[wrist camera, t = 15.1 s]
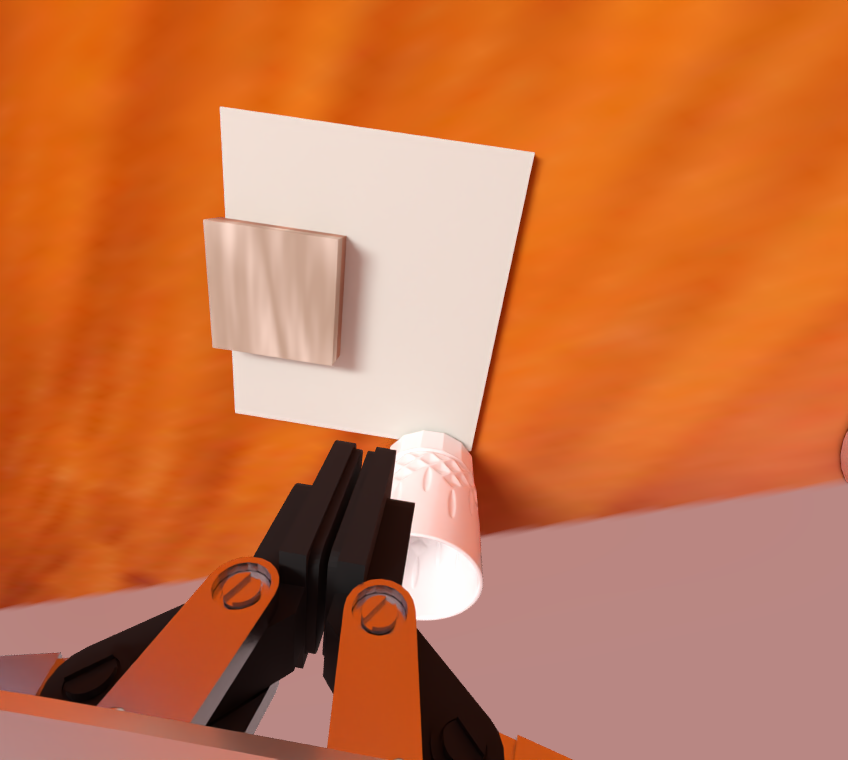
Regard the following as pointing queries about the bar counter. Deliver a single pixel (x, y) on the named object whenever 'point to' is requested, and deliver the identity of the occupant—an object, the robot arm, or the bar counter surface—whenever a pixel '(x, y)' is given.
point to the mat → (383, 268)
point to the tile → (275, 289)
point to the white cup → (439, 523)
